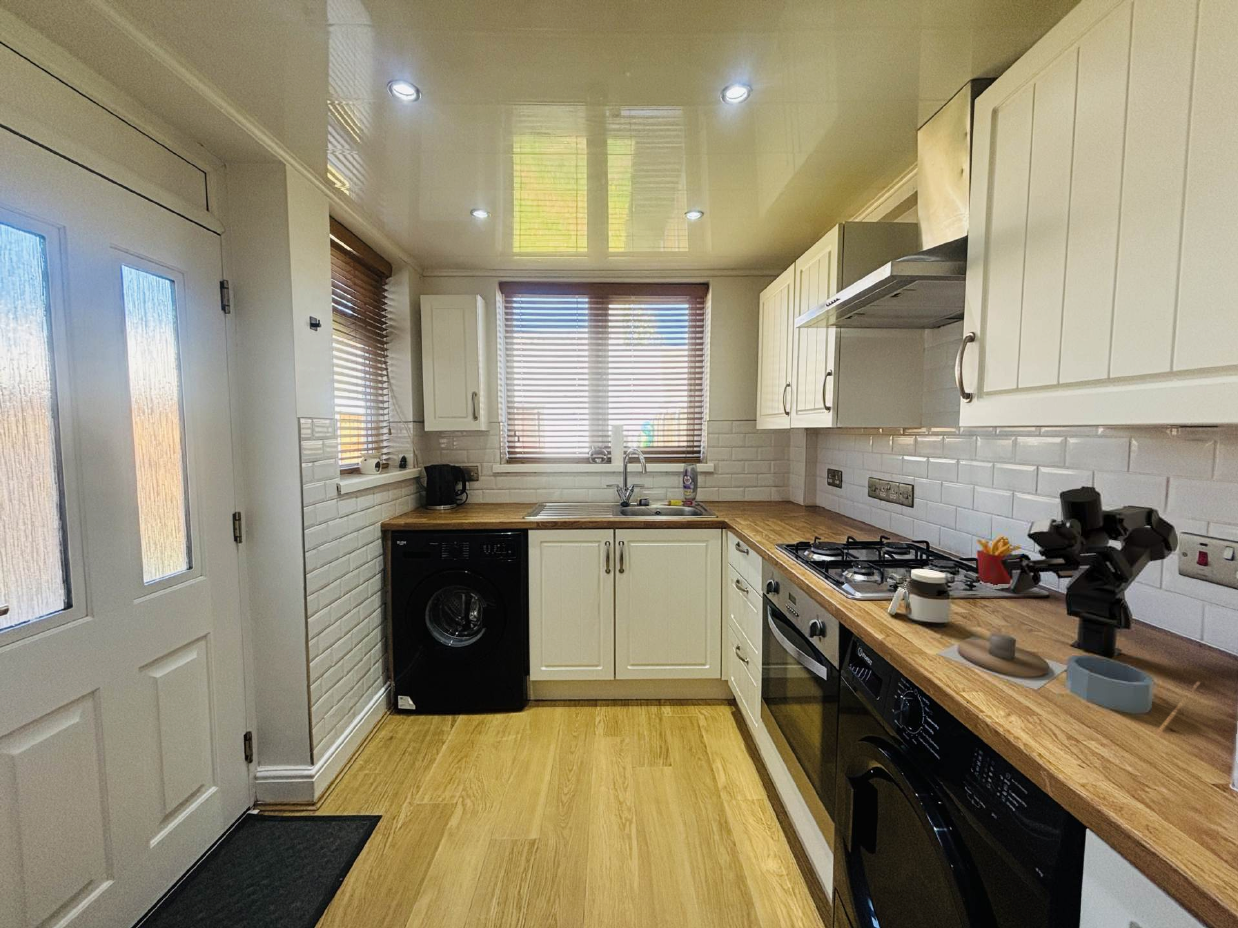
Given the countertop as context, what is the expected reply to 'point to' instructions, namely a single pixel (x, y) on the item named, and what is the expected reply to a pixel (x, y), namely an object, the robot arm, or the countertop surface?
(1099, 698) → the bowl
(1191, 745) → the countertop surface
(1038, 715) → the countertop surface
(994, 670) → the lid
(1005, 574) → the french fries
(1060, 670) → the mat
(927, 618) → the spread jar
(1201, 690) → the countertop surface
